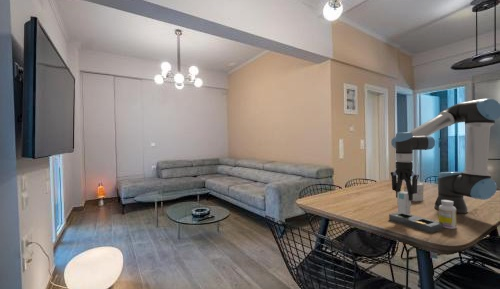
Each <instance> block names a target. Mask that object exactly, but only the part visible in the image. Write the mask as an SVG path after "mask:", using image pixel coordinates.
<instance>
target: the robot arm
mask: <svg viewBox="0 0 500 289" xmlns="http://www.w3.org/2000/svg"><path fill="white" fill-rule="evenodd" d="M499 119H500V103H499V101H497V100H496V99H494V98H480V99H476V100H475V99H473V100H469V101H461V102H458V103H456V104H454V105H452V106H450V107H447V108H446V109H443V110H442V111H441V112H439V113H437V116H435V117H433V118H431V119H430V120H429V119H428V120H427V121H426V122H424V123H422V124H420V125H419V126H417V127H415V128H413V129H411V130H410V131H407V132H404V131H403V132H397V133H395V136H394V137H393V138H392V139H391V146H392V147H393V148H394V149H395V171H391V172H390V176H391V189H392V191H394V192H395V198H397V201H396V202H397V205H398V192H401V191H402V185H403V181H404V183H406V186H407V191H408V193H407V194H406V196H407V207H410V208H411V207H412V202H413V201H412V200H413V194H416V193H417V181H418V180H419V177H420V175H419V174H416V173H414V171H413V165H414V164H413V156H414V155H413V151H419V150H420V151H426V150H427V151H429V150H432V149H434V147H435V146H436V141H435V138H434V137H433V136H431V135H433V134H435V133H436V132H438V131H441V130H442V129H444V128H446V127H451V126H452V125H455V124H458V123H459V124H460V123H464V125H465V126H466V127H467V141H466V154H465V169H464V170H462V171H444V172H443V171H441V172H439V173H438V176H437V190H438V191H437V192H438V194H437V197H436V200H435V202H434V208H435V209H437V210H438V211H439V206H440V205H442V203H441V200H450V201H453V202H454V204H453V206H454V207H455V208H456V214H466V213H468V206H467V204H466V201H465V198H464V197H469V198H473V199H475V200H490V199H491V198H492V197H493V196H494V195H496V193H497V190H498V185H497V183H496V181H495V180H493V179H492V175H491V173H490V172H488V167H489V166H488V164H489V151H490V139H491V138H490V137H491V127H493V126H494V125H495V122H496V121H497V120H499ZM411 180H412V185H411Z"/></svg>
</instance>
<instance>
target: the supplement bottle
mask: <svg viewBox="0 0 500 289" xmlns="http://www.w3.org/2000/svg"><path fill="white" fill-rule="evenodd" d="M441 203H442V205H440V206H439V210H438V222H441V223H443V229H444V228H445V229H452V230H454V229H456V228H457V213H456V208H455V207H454V206H453V204H454V202H453V201H450V200H441Z"/></svg>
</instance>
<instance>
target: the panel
mask: <svg viewBox="0 0 500 289" xmlns="http://www.w3.org/2000/svg"><path fill="white" fill-rule="evenodd" d="M388 220H389V221H391V222H395V223H399V224H401V225H404V226H407V227H410V228H413V229H417V230H420V231H423V232H426V233H429V234H433V233H435V232H439V231H442V230H443V229H444V227H443V223H441V222H439V221H438V220H437V221H436V220H433V219H429V218H425V217H422V216H417V215H414V214H411V213H410V214H406V215H405V214H402V213H398V211H397V212H394V213H389V215H388Z"/></svg>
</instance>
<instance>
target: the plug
mask: <svg viewBox="0 0 500 289" xmlns="http://www.w3.org/2000/svg"><path fill="white" fill-rule="evenodd" d="M407 193H408V192H404V190H401V191H400V192H398V204H397V212H398V213H402V214H405V215H406V214H411V206H410V207H407V196H406V194H407Z"/></svg>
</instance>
